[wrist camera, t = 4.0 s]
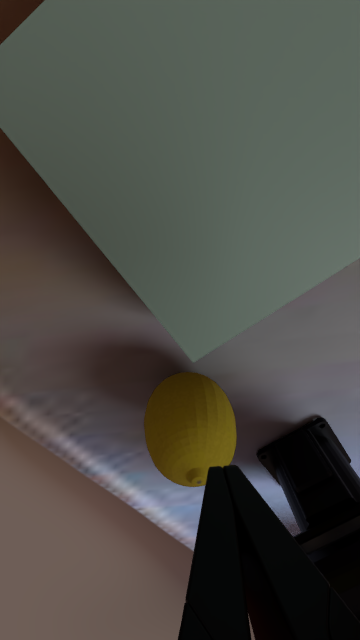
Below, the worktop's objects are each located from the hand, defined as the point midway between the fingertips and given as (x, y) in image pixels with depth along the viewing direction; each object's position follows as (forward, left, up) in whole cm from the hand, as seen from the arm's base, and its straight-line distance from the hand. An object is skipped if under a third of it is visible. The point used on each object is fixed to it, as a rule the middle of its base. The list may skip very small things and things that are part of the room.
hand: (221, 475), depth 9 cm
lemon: (-4, +3, -12) cm, 13 cm away
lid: (+7, -6, -7) cm, 12 cm away
